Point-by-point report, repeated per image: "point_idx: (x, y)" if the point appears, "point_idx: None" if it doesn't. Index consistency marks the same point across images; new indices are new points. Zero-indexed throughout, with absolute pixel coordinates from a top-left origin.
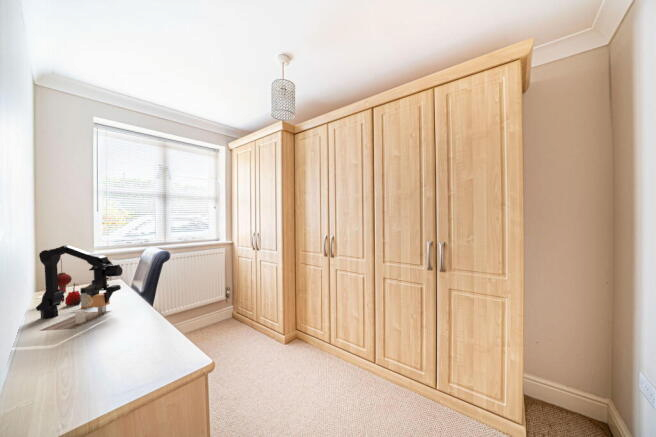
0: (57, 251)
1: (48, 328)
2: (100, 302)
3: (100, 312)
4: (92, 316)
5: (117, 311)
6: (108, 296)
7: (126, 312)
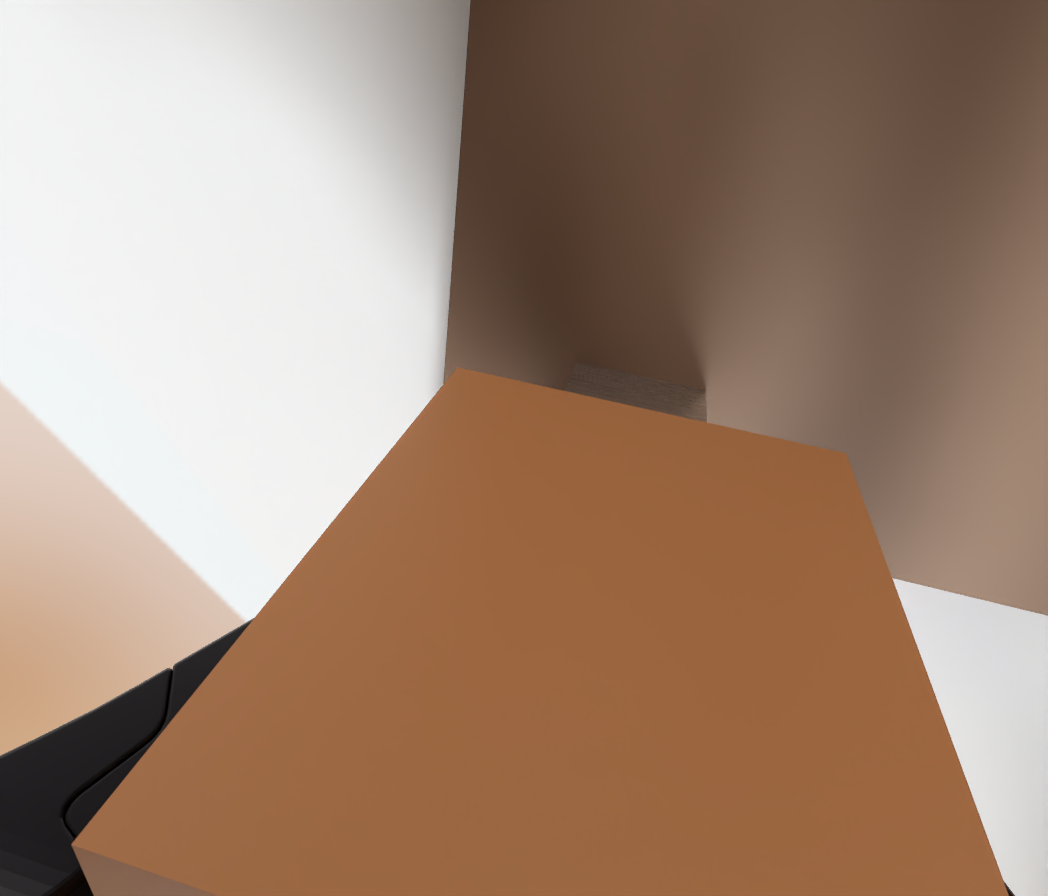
0: None
1: None
2: (475, 490)
3: (632, 385)
4: (742, 127)
5: (370, 473)
6: None
7: (111, 326)
